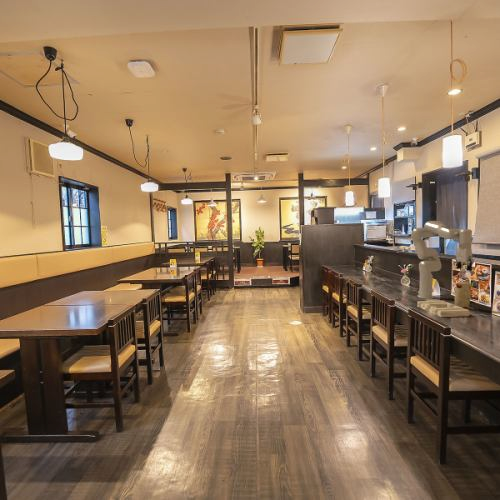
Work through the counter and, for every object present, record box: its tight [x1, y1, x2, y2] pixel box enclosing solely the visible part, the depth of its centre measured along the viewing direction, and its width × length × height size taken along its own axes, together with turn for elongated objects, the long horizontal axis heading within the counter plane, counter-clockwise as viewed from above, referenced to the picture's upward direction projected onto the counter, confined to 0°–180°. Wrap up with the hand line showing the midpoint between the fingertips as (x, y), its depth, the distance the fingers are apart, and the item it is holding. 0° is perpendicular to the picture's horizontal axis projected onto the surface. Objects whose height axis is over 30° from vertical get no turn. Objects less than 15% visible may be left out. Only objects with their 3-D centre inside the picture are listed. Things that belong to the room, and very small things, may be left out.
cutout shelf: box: [416, 300, 470, 318], centre depth 219 cm, size 26×20×4 cm
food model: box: [454, 281, 472, 310], centre depth 224 cm, size 10×7×20 cm
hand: (464, 269), depth 222 cm, fingers open, 9 cm apart
